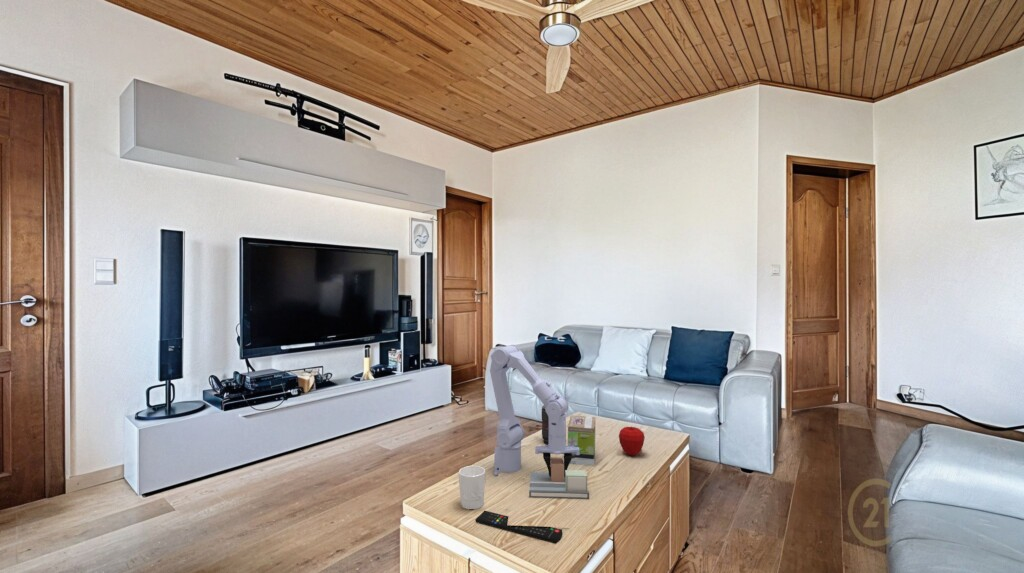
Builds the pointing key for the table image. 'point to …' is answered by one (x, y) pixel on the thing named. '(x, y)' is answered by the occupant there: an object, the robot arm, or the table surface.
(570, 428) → the tea box
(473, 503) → the white cup
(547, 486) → the shelf board
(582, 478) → the sage carton
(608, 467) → the table surface
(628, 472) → the table surface
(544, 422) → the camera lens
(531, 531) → the remote control
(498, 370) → the robot arm
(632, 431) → the apple
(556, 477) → the terracotta carton
